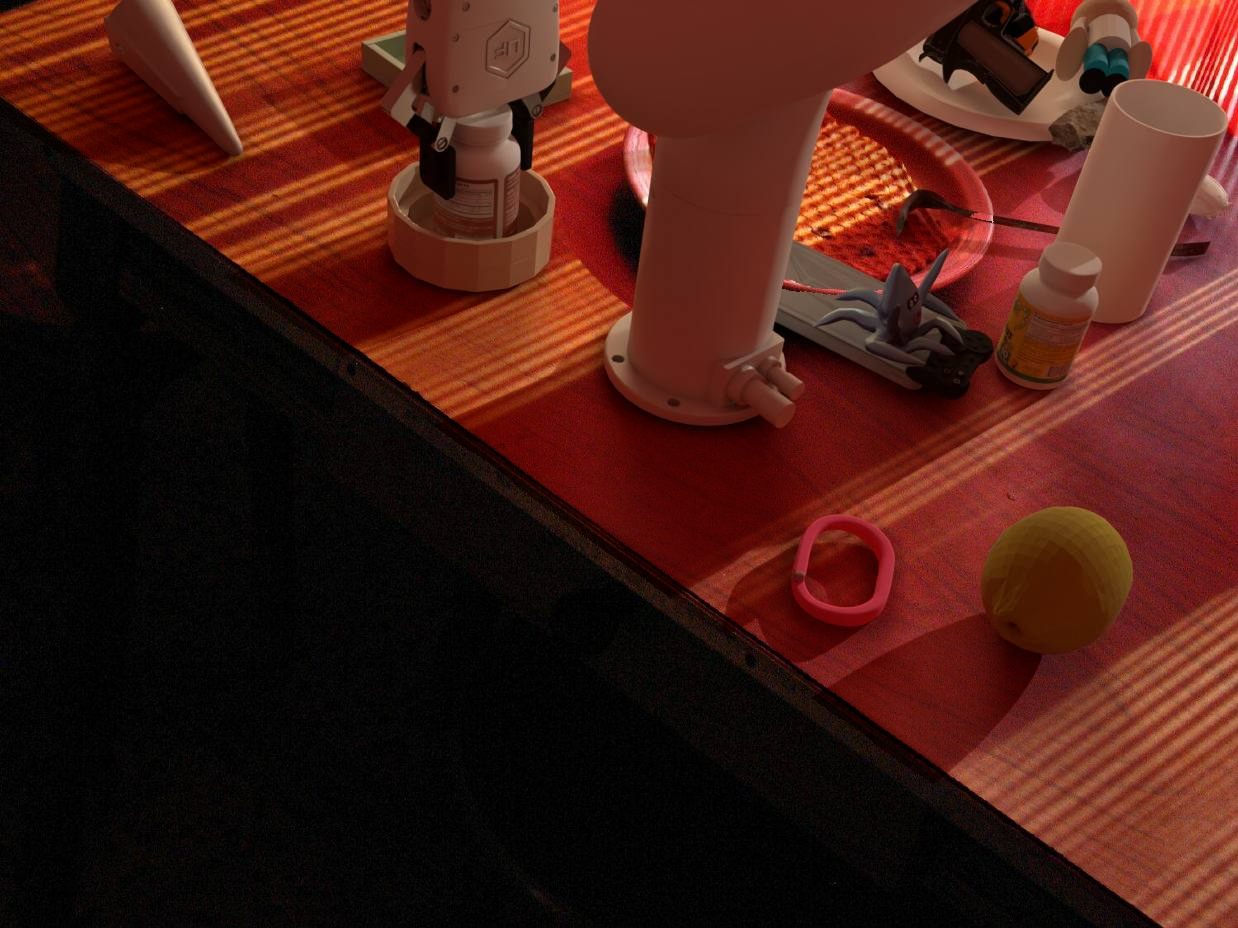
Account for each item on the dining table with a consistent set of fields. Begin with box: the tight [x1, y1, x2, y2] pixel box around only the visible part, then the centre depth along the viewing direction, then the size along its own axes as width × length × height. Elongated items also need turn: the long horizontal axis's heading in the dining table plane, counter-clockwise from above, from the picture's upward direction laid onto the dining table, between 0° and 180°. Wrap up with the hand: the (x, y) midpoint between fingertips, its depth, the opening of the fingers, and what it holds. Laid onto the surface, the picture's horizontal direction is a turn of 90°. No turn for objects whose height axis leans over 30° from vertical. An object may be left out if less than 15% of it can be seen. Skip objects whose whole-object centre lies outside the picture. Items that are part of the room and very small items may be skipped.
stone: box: [1048, 97, 1110, 153], centre depth 122 cm, size 13×5×3 cm, turn 135°
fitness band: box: [790, 514, 896, 628], centre depth 83 cm, size 8×6×2 cm
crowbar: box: [895, 188, 1212, 257], centre depth 112 cm, size 26×2×5 cm
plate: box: [871, 26, 1105, 144], centre depth 131 cm, size 25×25×2 cm
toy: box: [1055, 0, 1154, 97], centre depth 130 cm, size 8×6×15 cm
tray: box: [360, 28, 574, 124], centre depth 121 cm, size 14×13×3 cm
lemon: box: [979, 506, 1134, 655], centre depth 79 cm, size 11×8×8 cm
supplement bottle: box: [994, 242, 1102, 391], centre depth 97 cm, size 5×5×10 cm
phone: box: [774, 239, 969, 391], centre depth 102 cm, size 8×16×1 cm, turn 54°
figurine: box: [813, 247, 995, 401], centre depth 95 cm, size 10×12×8 cm
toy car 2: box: [984, 1, 1040, 57], centre depth 132 cm, size 12×12×3 cm
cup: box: [1053, 78, 1229, 325], centre depth 103 cm, size 8×8×16 cm
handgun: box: [918, 0, 1054, 116], centre depth 127 cm, size 3×19×12 cm
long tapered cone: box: [103, 0, 244, 157], centre depth 114 cm, size 6×6×19 cm
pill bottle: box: [434, 103, 521, 241], centre depth 100 cm, size 6×6×11 cm
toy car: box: [1189, 174, 1233, 221], centre depth 120 cm, size 5×12×4 cm, turn 44°
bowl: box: [386, 160, 557, 293], centre depth 102 cm, size 12×12×4 cm
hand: (476, 174), depth 99 cm, fingers closed on pill bottle, 6 cm apart
